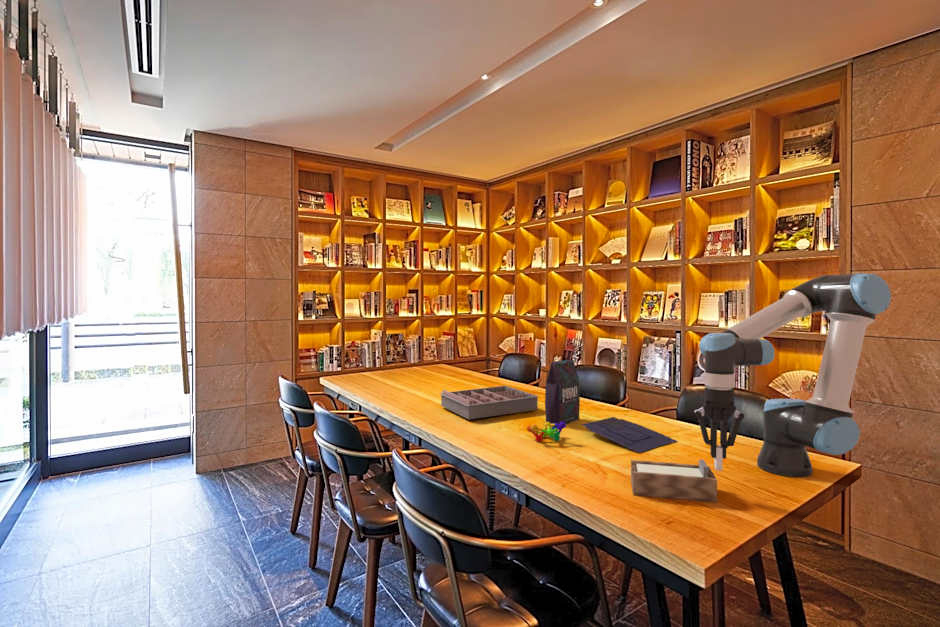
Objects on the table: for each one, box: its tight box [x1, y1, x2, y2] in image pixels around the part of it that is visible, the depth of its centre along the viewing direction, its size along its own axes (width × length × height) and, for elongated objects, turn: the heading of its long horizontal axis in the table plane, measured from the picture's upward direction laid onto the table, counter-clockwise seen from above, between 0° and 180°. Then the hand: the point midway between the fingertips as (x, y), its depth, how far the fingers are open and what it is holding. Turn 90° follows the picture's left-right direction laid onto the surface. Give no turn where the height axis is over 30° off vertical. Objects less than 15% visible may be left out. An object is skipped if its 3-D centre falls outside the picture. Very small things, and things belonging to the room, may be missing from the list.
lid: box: [636, 459, 709, 478], centre depth 140 cm, size 19×8×4 cm, turn 75°
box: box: [630, 459, 718, 504], centre depth 140 cm, size 22×11×6 cm, turn 75°
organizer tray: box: [439, 385, 540, 420], centre depth 241 cm, size 32×40×10 cm
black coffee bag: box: [544, 358, 581, 425], centre depth 217 cm, size 8×16×28 cm, turn 133°
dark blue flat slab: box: [580, 416, 678, 454], centre depth 192 cm, size 24×30×4 cm
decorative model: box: [526, 421, 567, 443], centre depth 190 cm, size 13×9×15 cm
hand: (718, 468), depth 137 cm, fingers closed
